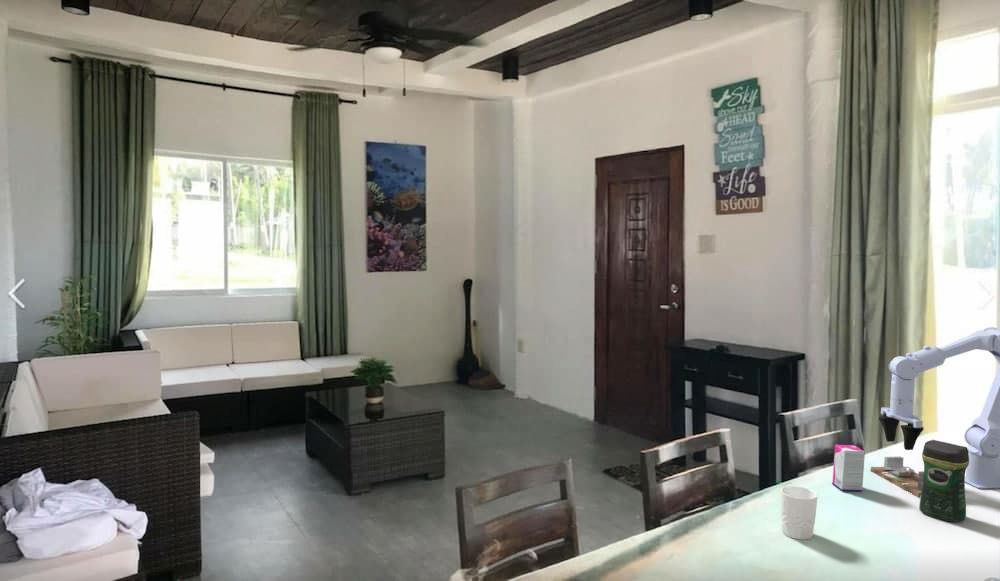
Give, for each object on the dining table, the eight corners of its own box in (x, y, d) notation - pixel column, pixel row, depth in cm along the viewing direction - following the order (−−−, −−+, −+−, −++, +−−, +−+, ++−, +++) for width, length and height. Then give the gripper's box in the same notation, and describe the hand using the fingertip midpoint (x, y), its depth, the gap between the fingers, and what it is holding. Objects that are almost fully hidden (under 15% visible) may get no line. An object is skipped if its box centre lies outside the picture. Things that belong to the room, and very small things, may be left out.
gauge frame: (870, 470, 201) (871, 451, 200) (902, 470, 202) (903, 450, 201) (918, 497, 181) (919, 475, 180) (953, 496, 182) (954, 474, 181)
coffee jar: (970, 517, 168) (975, 445, 167) (957, 525, 164) (962, 451, 162) (927, 505, 176) (931, 435, 174) (913, 512, 171) (918, 441, 170)
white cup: (799, 544, 154) (802, 501, 153) (771, 530, 161) (773, 489, 160) (823, 536, 157) (825, 495, 156) (794, 523, 164) (796, 483, 163)
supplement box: (863, 492, 185) (865, 451, 184) (841, 491, 185) (843, 450, 184) (852, 484, 190) (854, 444, 189) (831, 483, 190) (833, 444, 189)
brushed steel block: (875, 469, 198) (876, 457, 198) (899, 468, 199) (900, 456, 199) (894, 479, 190) (895, 466, 190) (919, 478, 191) (920, 466, 191)
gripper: (872, 393, 200) (870, 438, 201) (906, 405, 186) (904, 454, 187) (894, 392, 201) (892, 437, 202) (930, 405, 186) (927, 453, 188)
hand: (899, 445), depth 194 cm, fingers open, 7 cm apart
